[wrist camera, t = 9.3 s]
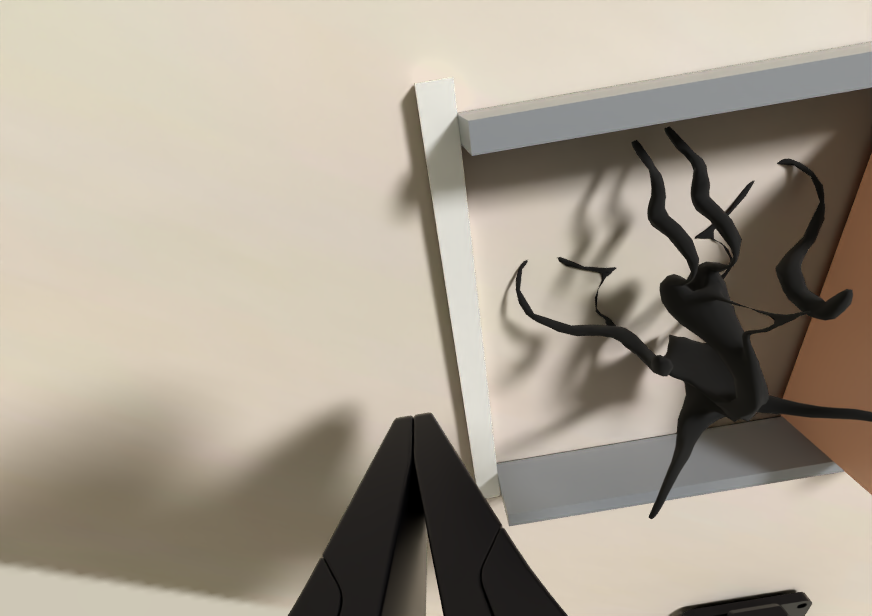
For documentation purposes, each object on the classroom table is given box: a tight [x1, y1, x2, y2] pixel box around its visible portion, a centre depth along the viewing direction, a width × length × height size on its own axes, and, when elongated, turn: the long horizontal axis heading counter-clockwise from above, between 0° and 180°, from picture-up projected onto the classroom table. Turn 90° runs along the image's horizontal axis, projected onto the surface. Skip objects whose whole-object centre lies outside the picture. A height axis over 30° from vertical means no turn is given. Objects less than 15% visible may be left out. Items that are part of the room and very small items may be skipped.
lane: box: [414, 42, 872, 526], centre depth 10 cm, size 14×18×5 cm
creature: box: [516, 126, 872, 519], centre depth 9 cm, size 8×5×8 cm
